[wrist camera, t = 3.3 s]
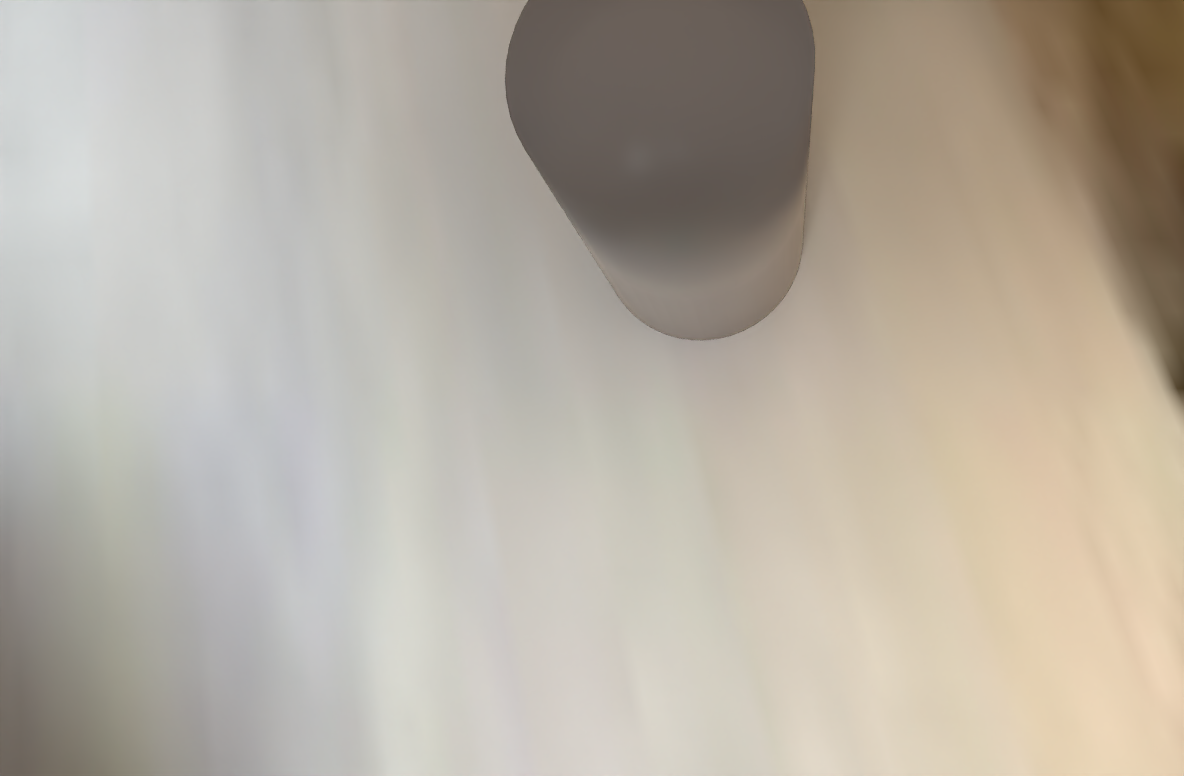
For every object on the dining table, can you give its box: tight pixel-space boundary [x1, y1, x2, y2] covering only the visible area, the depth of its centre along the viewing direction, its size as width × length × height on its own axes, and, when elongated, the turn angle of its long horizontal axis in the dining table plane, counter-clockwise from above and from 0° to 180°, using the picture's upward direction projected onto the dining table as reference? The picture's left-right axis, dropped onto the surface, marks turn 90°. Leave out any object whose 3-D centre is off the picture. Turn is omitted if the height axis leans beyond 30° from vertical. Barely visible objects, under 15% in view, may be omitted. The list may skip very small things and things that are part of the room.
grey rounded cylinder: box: [505, 0, 815, 340], centre depth 22 cm, size 5×5×10 cm
